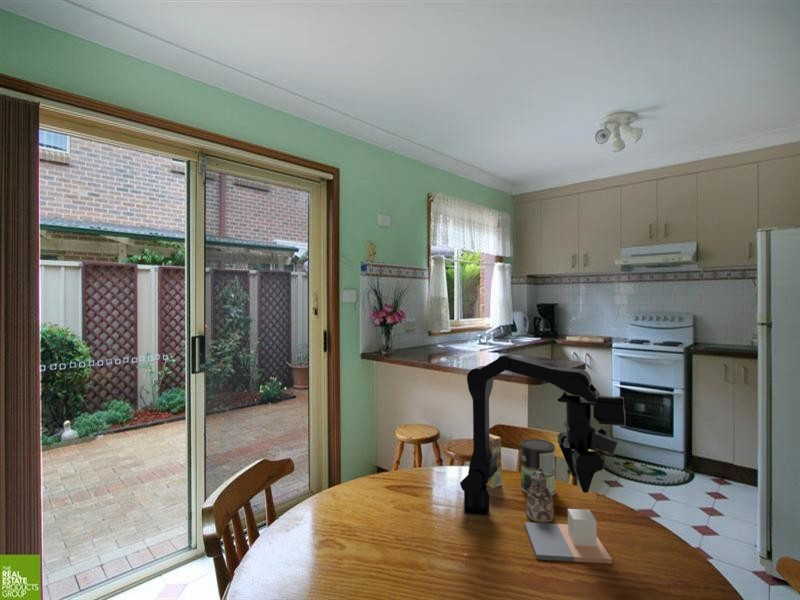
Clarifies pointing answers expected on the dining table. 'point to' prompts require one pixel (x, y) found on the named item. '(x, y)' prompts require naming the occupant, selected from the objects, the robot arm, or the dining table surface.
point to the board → (562, 545)
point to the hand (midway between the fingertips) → (579, 484)
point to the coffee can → (537, 462)
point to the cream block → (582, 527)
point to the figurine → (539, 499)
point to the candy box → (496, 451)
